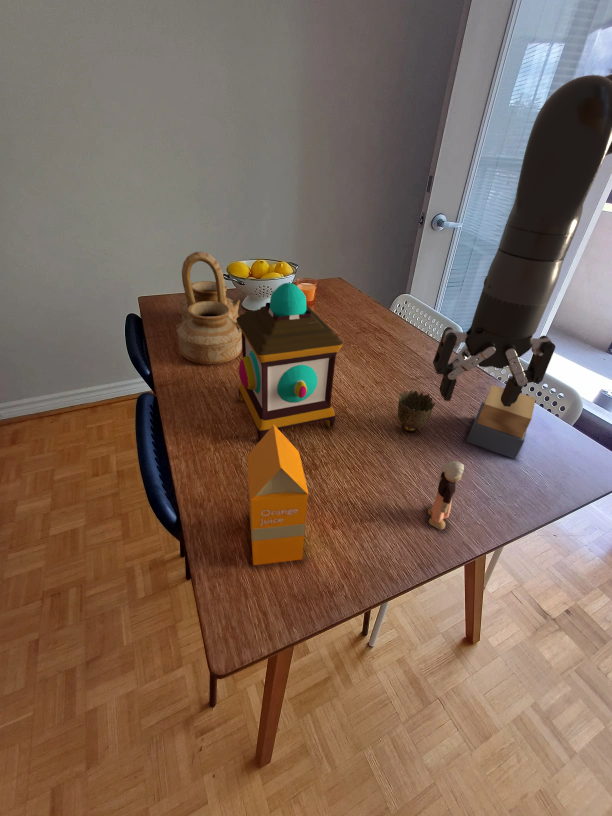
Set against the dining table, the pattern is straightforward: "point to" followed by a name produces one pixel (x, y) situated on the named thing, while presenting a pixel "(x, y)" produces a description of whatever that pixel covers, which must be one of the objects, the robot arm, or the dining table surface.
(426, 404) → the cup
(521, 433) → the top block
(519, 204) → the robot arm
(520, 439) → the base block
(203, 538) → the dining table surface
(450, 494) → the grandmother figurine
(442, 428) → the dining table surface
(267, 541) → the orange juice
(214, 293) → the ceramic vessel
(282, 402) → the decorative lantern
